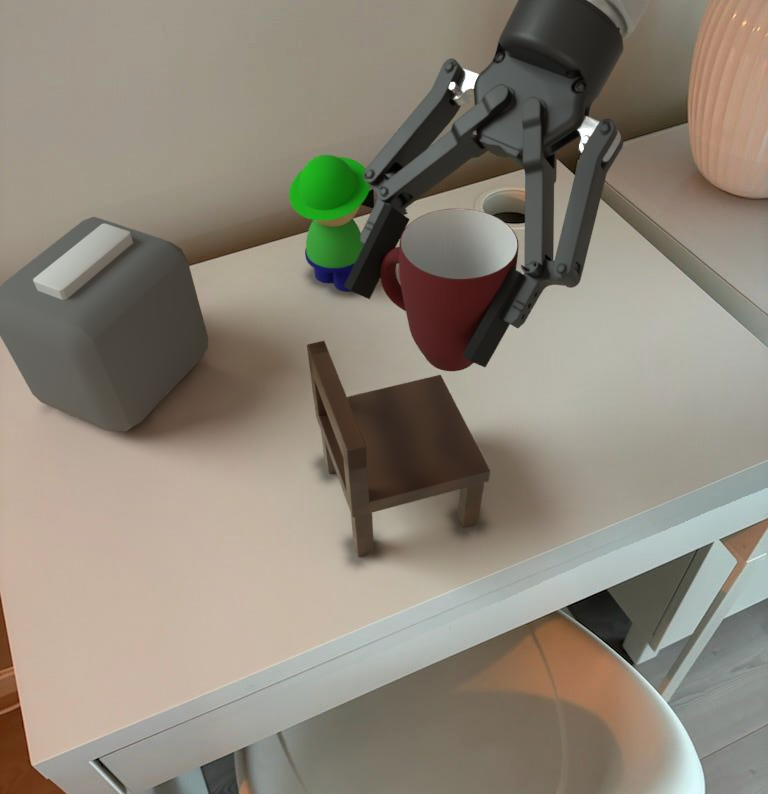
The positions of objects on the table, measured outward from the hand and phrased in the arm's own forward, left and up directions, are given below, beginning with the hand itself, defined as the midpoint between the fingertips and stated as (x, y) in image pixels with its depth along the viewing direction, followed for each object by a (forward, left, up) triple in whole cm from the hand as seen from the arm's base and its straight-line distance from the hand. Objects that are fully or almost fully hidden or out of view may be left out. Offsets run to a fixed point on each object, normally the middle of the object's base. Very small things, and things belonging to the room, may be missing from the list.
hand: (412, 326), depth 54 cm
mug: (-3, -1, -4) cm, 5 cm away
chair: (+1, -1, -20) cm, 20 cm away
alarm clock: (+23, -24, -20) cm, 39 cm away
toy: (-2, -34, -20) cm, 39 cm away
